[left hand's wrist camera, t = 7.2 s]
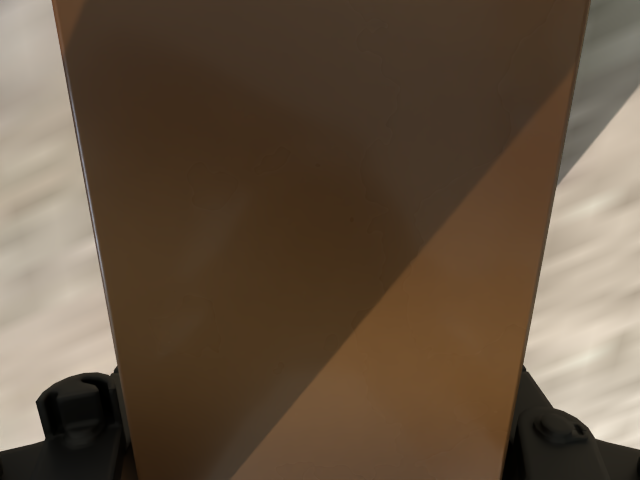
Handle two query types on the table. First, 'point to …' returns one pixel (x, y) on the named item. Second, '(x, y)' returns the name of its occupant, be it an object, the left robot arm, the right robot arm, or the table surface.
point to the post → (320, 224)
